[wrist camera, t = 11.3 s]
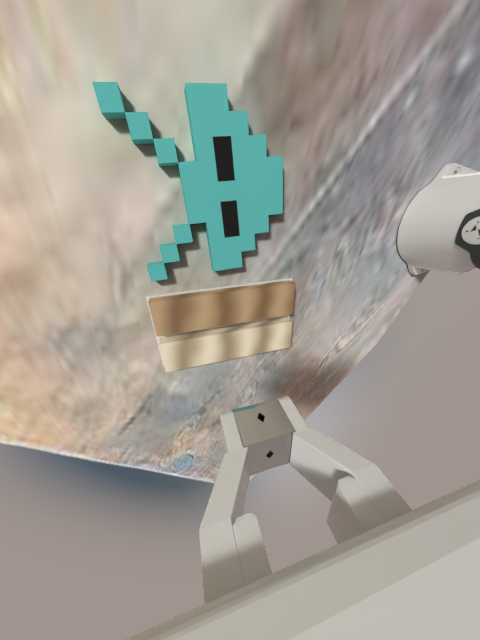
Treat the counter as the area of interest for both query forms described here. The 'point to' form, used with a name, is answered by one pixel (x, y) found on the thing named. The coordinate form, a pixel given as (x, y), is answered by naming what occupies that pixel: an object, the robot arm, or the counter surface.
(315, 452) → the robot arm
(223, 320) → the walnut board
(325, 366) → the counter surface
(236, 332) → the birch plank
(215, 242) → the alien figure
